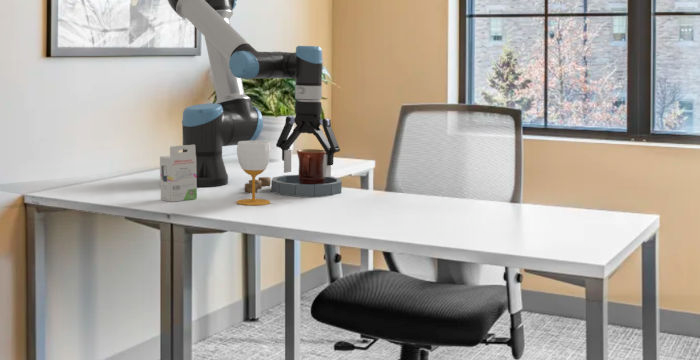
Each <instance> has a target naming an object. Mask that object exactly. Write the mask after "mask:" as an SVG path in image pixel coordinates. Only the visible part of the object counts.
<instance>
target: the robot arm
mask: <svg viewBox="0 0 700 360" xmlns="http://www.w3.org/2000/svg"><path fill="white" fill-rule="evenodd" d="M237 1H238V0H167V2H168V4H169V6H170V8H171V9H172V10H173V11H174V12H175V13H176V14H177V15H178V16H179V17H180V18H183V19H187V21H188V22H190V24H191V25H193V27H195V29H197V31H199V32H200V33H201V35H203V36H204V41H205V45H206V50H207V51H206V52H207V55H208V60H209V65H210V69H211V70H210V71H211V75H212V81H213V85H214V89H215V94H216V95H215V96H216V100H215V102H214V103H200V104H199V103H198V104H193V105H190V106H187V107H185V108H184V109H183V111H182V120H181V123H182V146H183V145H195V150H196V174H197V176H196V178H197V187H217V186H224V185H228V183H229V176H228V175H229V174H228V173H227V170H226V166H225V162H224V158H223V147H231V146H237V145H238V142H239V141H258V138H259V137H260V135H261V133H262V132H263V127H264V119H263V114H262V112H261V111H260V110H259V108H258V107H255V106H253V104H252V99H251V97H249V96H248V95H247V94H245V90H244V85H243V80H242V79H244V80H252V79H255V80H256V79H257V80H258V79H294V81H295V82H294V83H295V92H294V93H295V94H294V95H295V97H294V98H295V100H296V101H295V102H294V113H295V116H293V115H289V116H286V117H285V123H284V126H283V128H282V130H281V132H280V135H279V137H278V138H277V142H276V143H275V146H276V148H280V149H281V160H282V161H283V173H285V174H287V173H288V174H289V173H291V172H292V149H291V146H292V145H293V144H294V143H295V141H296V140H297V139H298V137H299V136H300V135H301V134H309V135H313V136H315V138H316V139H317V141H318V143H320V146H321V147H322V149H323V150H325V151H326V154H324V177H329V176H331V177H332V166H333V165H334V154H335V153H338V152H340V151H341V148H340V146H339V144H338V139H336V136H335V132H334V130H333V128H332V122H331V119H330V118H323V119H322V117H321V114H322V102H321V101H320V100H322V99H323V98H322V97H323V96H322V95H323V94H322V92H323V90H322V89H323V86H322V85H323V84H322V81H323V63H324V61H323V49H322V47H321V46H318V45H316V46H315V45H297V46H296V47H295V52H289V51H287V52H286V51H258V50H256V49H255V48H254V46H252V45H251V44H250V43H249V42H248V41H246V39H245V38H244V37H243V36H242V35H241V34H240V33H239V32H238V31H237V30H236V29H235V28H233V27H232V26H231V21H230V19H231V18H232V17H233V14H234V11H233V10H234V9H235V7H236V6H237V3H236V2H237ZM294 124H295V125H296V126H295V127H294V129H293V126H294ZM321 126H322V128H323V129H322V128H321ZM292 129H293V130H292ZM291 131H292V132H291ZM182 152H187V149H186V150H184V149H182Z"/></svg>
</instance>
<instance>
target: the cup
mask: <svg viewBox="0 0 700 360" xmlns="http://www.w3.org/2000/svg"><path fill="white" fill-rule="evenodd" d="M236 146H237V147H236V154H237V160H238V163H239V166H240V168H241V169H242V170H243V172H245V173H246V174H247V175H249V176H250V177H251V180H252V193H251V198H244V199H237V200H236V202H235V203H236V204H238V205H241V206H256V207H257V206H265V205H269V204H271V201H270V200H269V199H262V198H256V193H255V180H256V177H257V176H259V175H260V174H262V173H264V171H266V169H267V168H268V165H269V164H270V160H271V153H272V147H271V142H269V141H265V140H255V141H239V142H238V145H236Z"/></svg>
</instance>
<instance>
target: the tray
mask: <svg viewBox="0 0 700 360" xmlns="http://www.w3.org/2000/svg"><path fill="white" fill-rule="evenodd" d="M298 177H299V174H287V175H285V174H284V175H278V176H273V177H272V179H271V186H270V187H271V190H270V191H271V192H273V193H276V194H278V195H285V196H292V197H311V198H312V197H313V198H314V197H315V196H316V197H326V196H327V195H330V196H335V195H339V194H342V191H343V190H342V188H343V186H342V183H343V179H342V178H339V177H335V176H332V175H331V176H329V177H324V182H323V184H299V178H298ZM338 193H339V194H338ZM334 194H335V195H334ZM327 197H328V196H327Z"/></svg>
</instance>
